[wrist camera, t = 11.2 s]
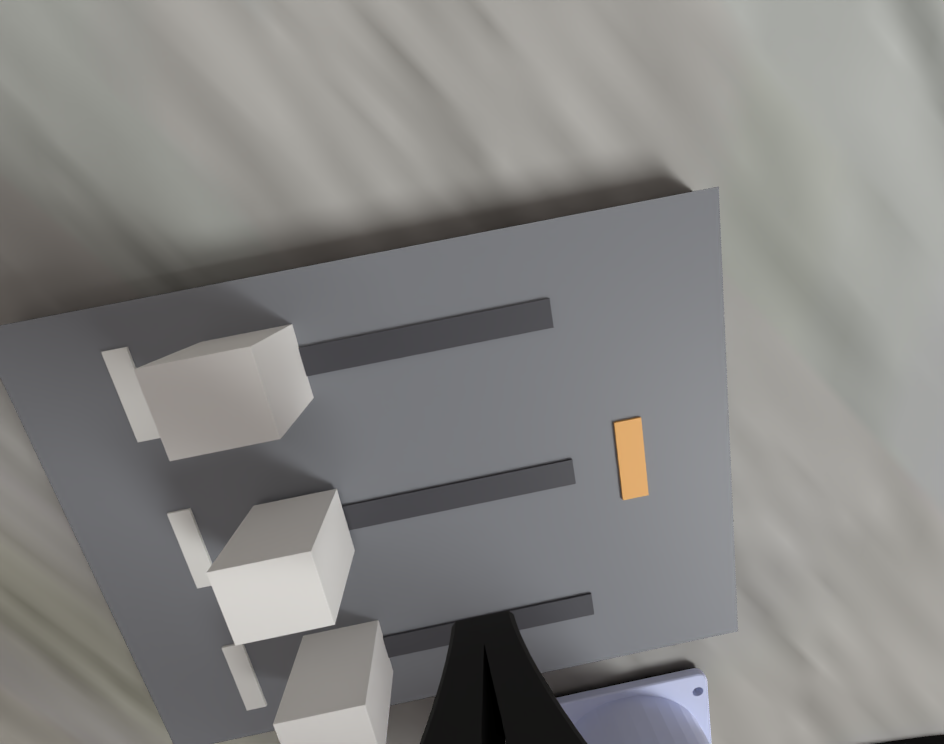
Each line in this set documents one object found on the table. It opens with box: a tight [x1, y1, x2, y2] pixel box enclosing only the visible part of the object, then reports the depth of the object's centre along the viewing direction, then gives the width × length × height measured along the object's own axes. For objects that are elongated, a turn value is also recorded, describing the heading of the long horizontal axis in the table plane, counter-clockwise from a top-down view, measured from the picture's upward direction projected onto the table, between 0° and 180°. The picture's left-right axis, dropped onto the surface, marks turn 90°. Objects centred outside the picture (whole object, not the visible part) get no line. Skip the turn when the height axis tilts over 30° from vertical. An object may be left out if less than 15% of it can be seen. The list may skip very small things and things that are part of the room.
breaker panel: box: [0, 187, 738, 744], centre depth 17 cm, size 18×24×5 cm
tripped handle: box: [206, 489, 355, 646], centre depth 16 cm, size 3×3×4 cm
